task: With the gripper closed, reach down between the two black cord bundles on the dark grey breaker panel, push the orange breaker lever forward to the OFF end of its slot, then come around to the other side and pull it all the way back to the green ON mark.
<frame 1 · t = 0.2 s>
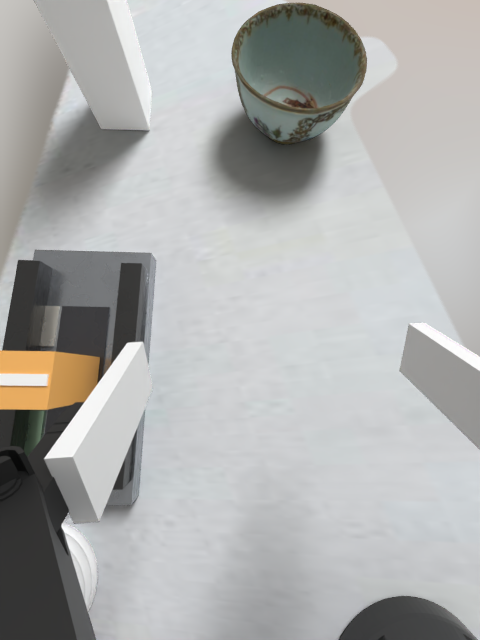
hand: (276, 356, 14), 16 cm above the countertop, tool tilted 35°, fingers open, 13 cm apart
breaker lever: (52, 378, 23), point 6 cm above the countertop, slide at 5.0 cm
bowl: (284, 125, 36), on the countertop
milk: (127, 111, 35), on the countertop
coaster: (46, 577, 25), on the countertop
panel: (89, 367, 29), on the countertop
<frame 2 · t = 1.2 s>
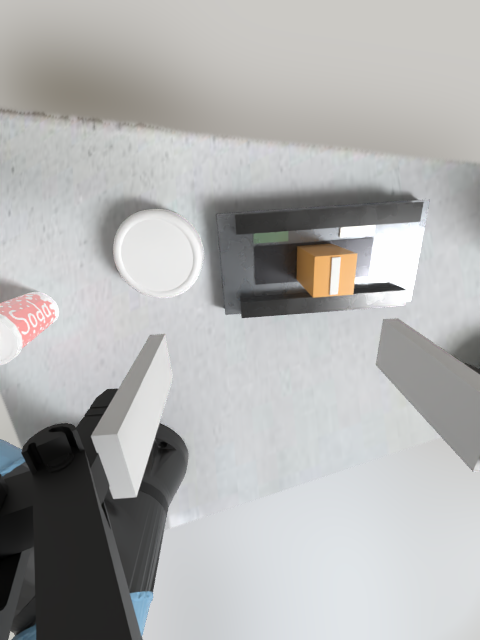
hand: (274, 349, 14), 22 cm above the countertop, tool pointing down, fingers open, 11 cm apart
breaker lever: (323, 268, 30), point 6 cm above the countertop, slide at 5.0 cm
coaster: (164, 251, 34), on the countertop
panel: (316, 257, 35), on the countertop
beverage cup: (41, 307, 36), on the countertop
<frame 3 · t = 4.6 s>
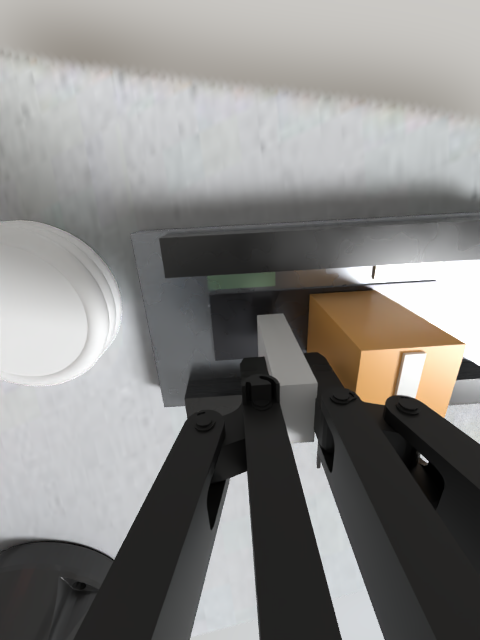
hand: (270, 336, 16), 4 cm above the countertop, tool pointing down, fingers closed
breaker lever: (365, 349, 14), point 6 cm above the countertop, slide at 6.1 cm, touching gripper
coaster: (51, 296, 19), on the countertop
panel: (326, 309, 20), on the countertop
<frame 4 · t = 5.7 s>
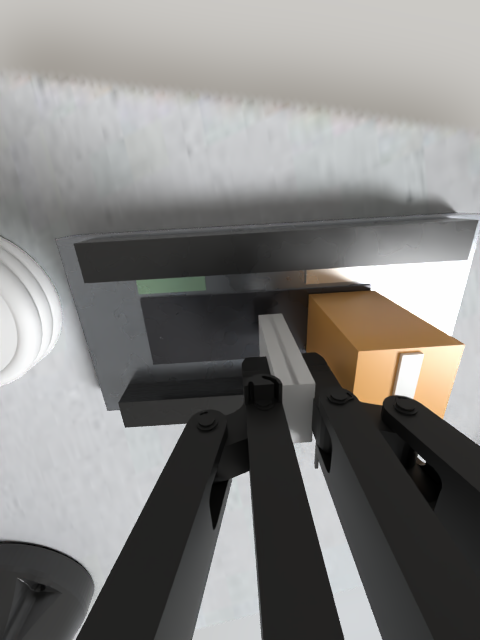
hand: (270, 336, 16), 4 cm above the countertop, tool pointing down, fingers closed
breaker lever: (364, 350, 14), point 6 cm above the countertop, slide at 10.2 cm, touching gripper
panel: (268, 313, 20), on the countertop
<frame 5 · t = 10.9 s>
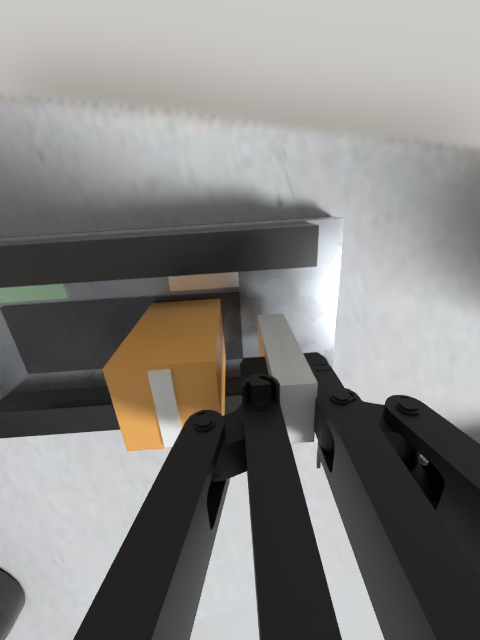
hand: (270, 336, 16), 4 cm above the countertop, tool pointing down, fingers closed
breaker lever: (181, 361, 14), point 6 cm above the countertop, slide at 8.8 cm, touching gripper
panel: (153, 319, 19), on the countertop
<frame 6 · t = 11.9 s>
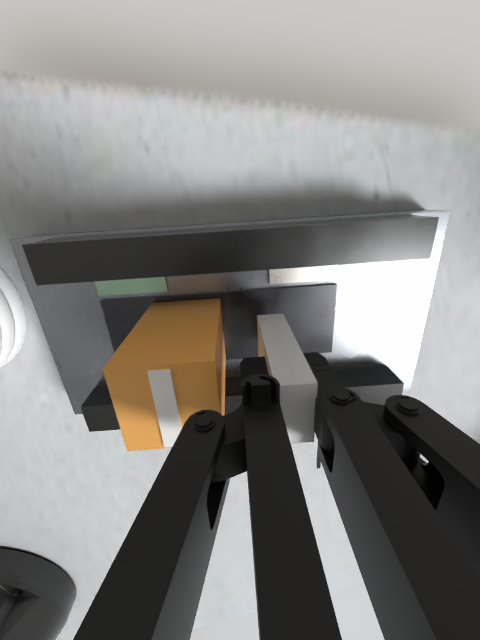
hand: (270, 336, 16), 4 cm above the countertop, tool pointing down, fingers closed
breaker lever: (181, 361, 14), point 6 cm above the countertop, slide at 3.0 cm, touching gripper
panel: (237, 313, 19), on the countertop
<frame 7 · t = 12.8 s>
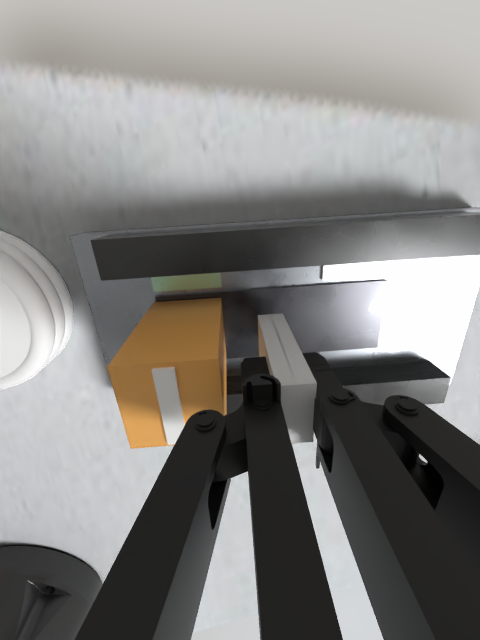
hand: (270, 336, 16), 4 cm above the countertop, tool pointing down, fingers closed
breaker lever: (183, 360, 14), point 6 cm above the countertop, slide at -0.1 cm, touching gripper
coaster: (1, 300, 19), on the countertop
panel: (282, 310, 19), on the countertop
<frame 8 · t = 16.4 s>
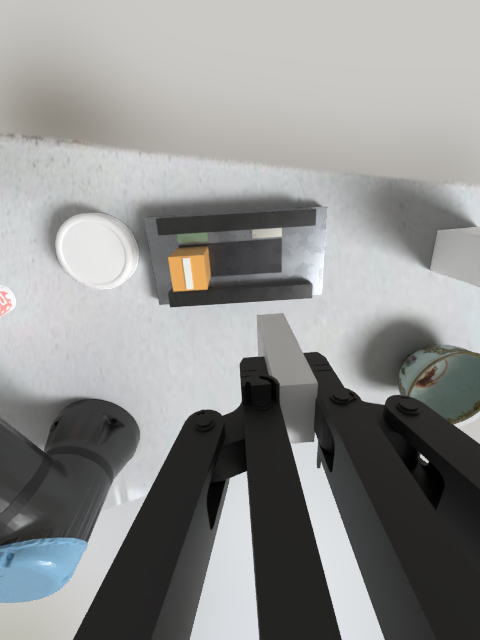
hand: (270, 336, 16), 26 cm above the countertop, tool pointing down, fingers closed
breaker lever: (191, 267, 35), point 6 cm above the countertop, slide at 0.0 cm
bowl: (418, 363, 49), on the countertop
milk: (451, 248, 41), on the countertop
coaster: (104, 249, 40), on the countertop
panel: (238, 255, 40), on the countertop
beverage cup: (0, 297, 41), on the countertop
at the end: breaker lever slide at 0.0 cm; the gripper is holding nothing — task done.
